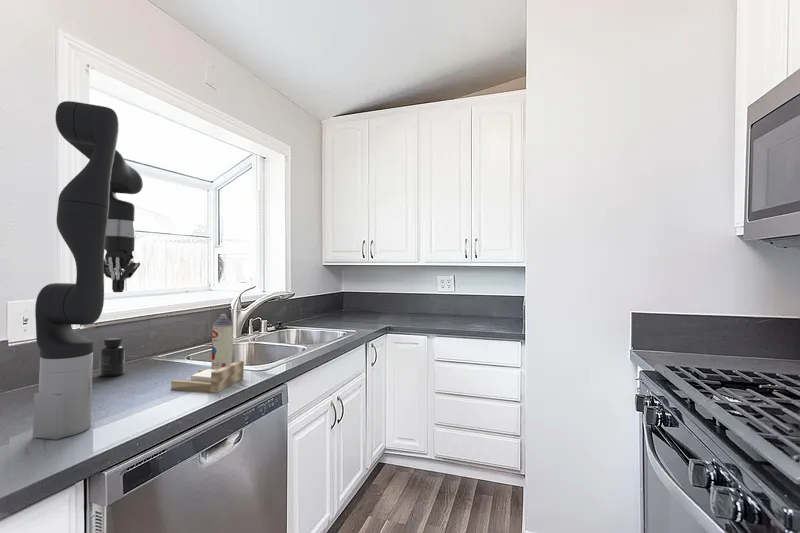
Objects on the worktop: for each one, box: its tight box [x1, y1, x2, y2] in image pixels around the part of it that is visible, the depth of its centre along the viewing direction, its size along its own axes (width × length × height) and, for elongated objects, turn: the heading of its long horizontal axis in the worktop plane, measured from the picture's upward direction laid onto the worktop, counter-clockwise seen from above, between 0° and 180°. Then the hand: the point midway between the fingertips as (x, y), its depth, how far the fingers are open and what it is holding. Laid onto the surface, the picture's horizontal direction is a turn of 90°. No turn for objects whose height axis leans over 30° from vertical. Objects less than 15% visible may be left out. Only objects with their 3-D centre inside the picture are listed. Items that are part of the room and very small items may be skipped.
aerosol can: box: [211, 313, 234, 370], centre depth 144 cm, size 7×7×20 cm
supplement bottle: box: [98, 337, 126, 378], centre depth 135 cm, size 7×7×12 cm
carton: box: [190, 368, 216, 382], centre depth 127 cm, size 8×7×4 cm
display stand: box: [170, 360, 245, 394], centre depth 128 cm, size 15×15×6 cm
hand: (118, 292), depth 123 cm, fingers closed
